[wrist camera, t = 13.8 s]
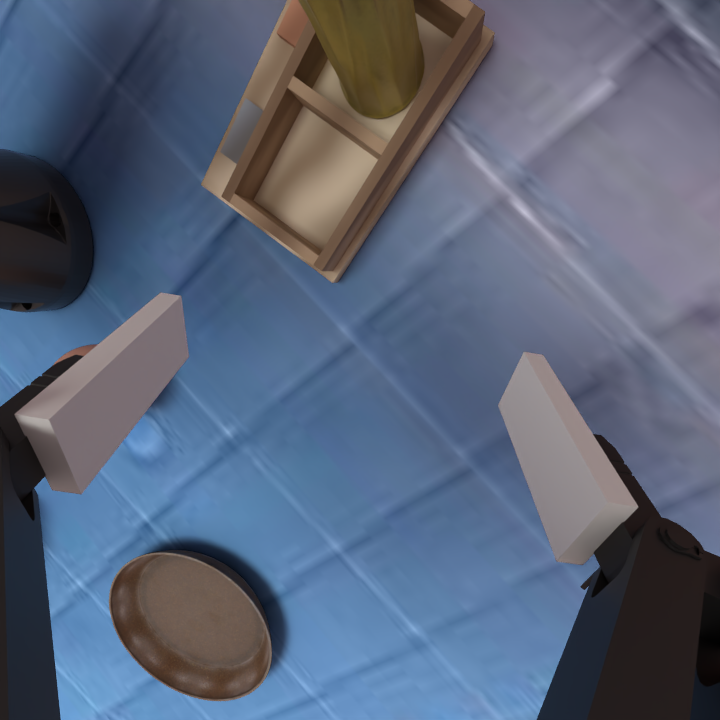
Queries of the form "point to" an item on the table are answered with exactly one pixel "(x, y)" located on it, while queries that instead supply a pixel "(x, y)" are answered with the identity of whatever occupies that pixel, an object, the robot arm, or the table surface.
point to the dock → (335, 135)
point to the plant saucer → (192, 624)
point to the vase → (371, 51)
